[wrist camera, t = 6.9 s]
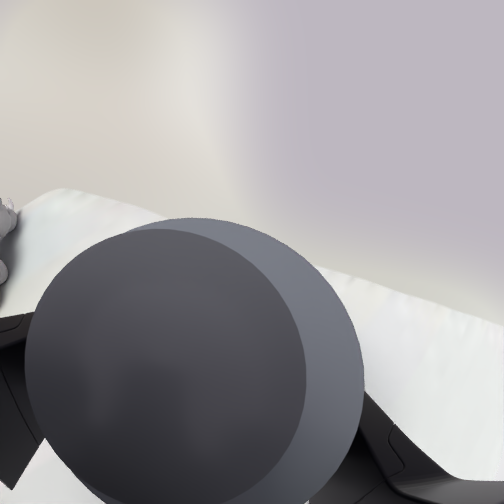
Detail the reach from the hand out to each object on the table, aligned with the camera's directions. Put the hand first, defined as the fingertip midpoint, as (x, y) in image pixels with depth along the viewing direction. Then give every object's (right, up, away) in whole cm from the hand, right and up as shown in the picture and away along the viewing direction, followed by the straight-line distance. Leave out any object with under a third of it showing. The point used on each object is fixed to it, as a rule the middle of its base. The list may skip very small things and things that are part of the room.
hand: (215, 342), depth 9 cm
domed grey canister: (-1, -4, +5) cm, 7 cm away
